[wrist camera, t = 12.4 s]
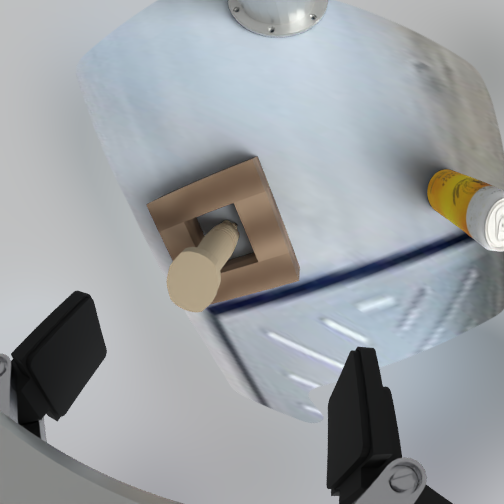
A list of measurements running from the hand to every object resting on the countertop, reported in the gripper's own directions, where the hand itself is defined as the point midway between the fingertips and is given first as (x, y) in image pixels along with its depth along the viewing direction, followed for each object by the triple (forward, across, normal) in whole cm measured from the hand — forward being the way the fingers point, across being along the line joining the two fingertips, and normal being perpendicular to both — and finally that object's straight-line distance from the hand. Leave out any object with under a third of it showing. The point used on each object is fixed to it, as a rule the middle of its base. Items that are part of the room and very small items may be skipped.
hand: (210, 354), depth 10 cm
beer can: (+31, -22, -3) cm, 38 cm away
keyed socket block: (+30, +6, +8) cm, 32 cm away
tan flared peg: (+30, +6, +8) cm, 32 cm away
